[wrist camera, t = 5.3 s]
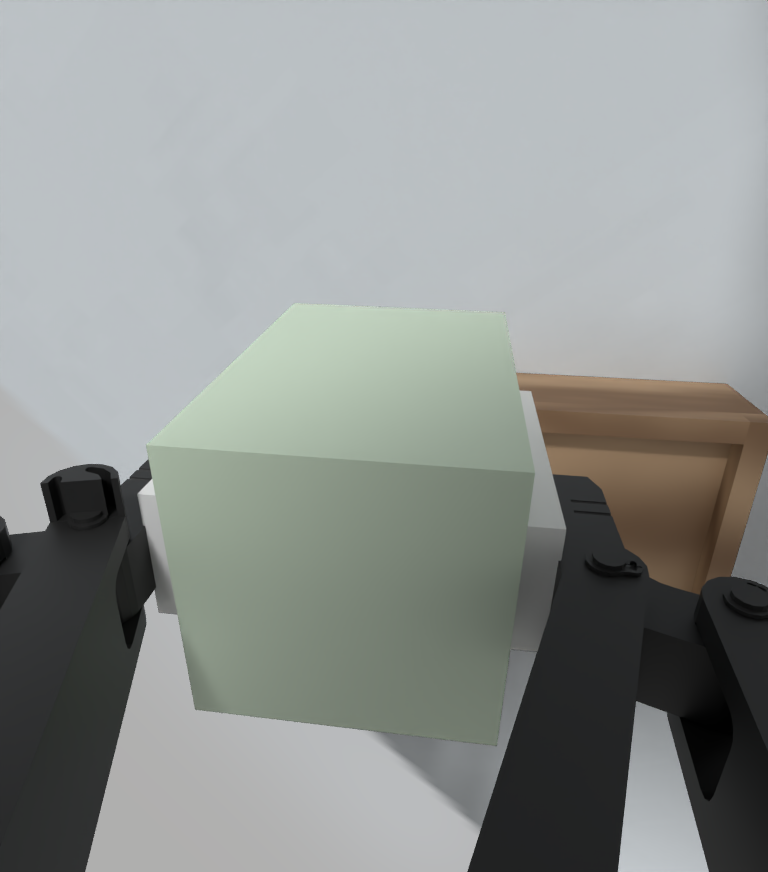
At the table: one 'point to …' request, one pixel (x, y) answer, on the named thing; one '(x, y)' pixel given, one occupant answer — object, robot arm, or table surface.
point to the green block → (352, 522)
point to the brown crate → (660, 464)
